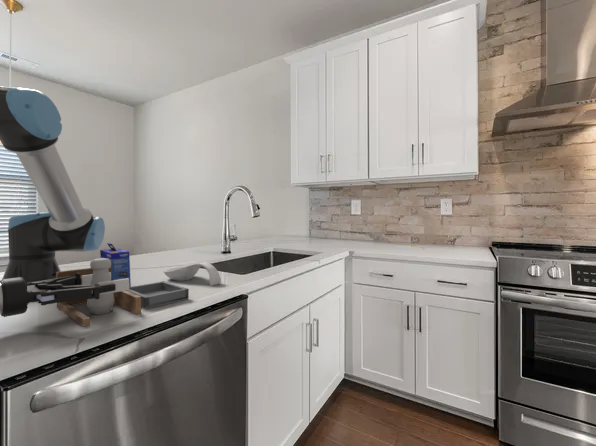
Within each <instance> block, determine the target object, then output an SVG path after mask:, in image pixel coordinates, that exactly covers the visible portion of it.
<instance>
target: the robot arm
mask: <svg viewBox="0 0 596 446" xmlns="http://www.w3.org/2000/svg"><path fill="white" fill-rule="evenodd" d="M61 121H62V117H61V114H60V112H59V109H58V107H57V106H56V104H55V103H54V102H53V100H52V99H51V98H50V97H49V96H48V95H46V94H45V93H43V92H42V91H39V90H36V89H31V88H25V87H21V86H14V87H11V86H1V85H0V143H1V144H2V146H3V148H4V149H5V150H7V151H8V152H12V153H13V154H14V153H15V154H16V156H17V157H18V160H19V161H20V163H21V165H22V166H23V168H24V171H25V172H26V174H27V175H28V177H29V179H30V181H31V182H32V184H33V186H34V188H35V190H36V191H37V193H38V195H39V197H40V198H41V201H42V202H43V204H44V206H45V208H46V209H47V211H48V212H36V213H24V214H15V215H12V216H11V217H10V218H9V220H8V227H7V232H8V234H7V235H8V259H9V260H8V264H7V266H6V268H5V271H4V274H3V276H2V279H0V316H1V317H4V318H7V317H12V316H18V315H22V314H24V313H26V312H27V310H28V305H29V304H30V303H37V304H40V305H41V306H46V305H53V304H57V303H60V302H68V301H77V300H85V299H94V298H95V299H99V295H102V294H108V293H114V292H119V291H125V290H129V278H126V279H119V280H113V281H106V282H99V283H97V284H92V285H91V280H92V275H93V274H91V275H83V276H81V278H80V273H75V275H71V276H65V277H60V278H56V272H60V271H61V268H60V266H59V263H58V262H57V259H56V252H76V253H77V252H78V253H79V252H83V253H85V252H86V253H87V252H94V251H97V250H98V249H99V248H100V247H101V245H103V244H102V243H103V240H104V236H105V231H106V228H105V221H104V218H102V217H100V216H97V215H96V216H94V215H93V214H92V211H91V210H90V209H89V208H88V207H86V206H83V203H82V202H81V200H80V198H79V194H78V193H77V191H76V189H75V187H74V184H73V182H72V180H71V177H70V175H69V174H68V171H67V169H66V167H65V165H64V162H63V161H62V158H61V156H60V153H59V151H58V149H57V147H56V144H57V142H58V141H59V137H60V135H61V133H62V129H63V124H62V123H61ZM109 275H110V280H111V272H109ZM80 284H81V285H80ZM92 290H93V293H92Z"/></svg>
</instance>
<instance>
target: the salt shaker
mask: <svg viewBox="0 0 596 446" xmlns="http://www.w3.org/2000/svg"><path fill="white" fill-rule="evenodd" d="M89 265H90V267H89V268H91V269H93V275H92V280H91V285H92V284H97V283H99V282H106V281H111V280H110V275H109V270H108V268H110V267H111V261H110V260H109V259H107V258H101V257H100V258H99V257H98V258H95V259H92V260H91V261H90V263H89ZM92 293H93V290H92ZM114 302H115V299H114V294H113V293H108V294H102V295H99V299H95V298H94V299H87V303H86V307H87V309H88V310H89V312H90V314H92V315H102V314H108V313H110V312H111V311H112V310H113V307H114V305H115V303H114Z"/></svg>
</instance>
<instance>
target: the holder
mask: <svg viewBox="0 0 596 446" xmlns="http://www.w3.org/2000/svg"><path fill="white" fill-rule="evenodd" d="M108 270H109V272H110V268H108ZM75 273H80V278H81V276H83V275H91V274H93V269H91V267H87V268H79V269H77V268H76V269H70V270H69V269H68V270H60V272H56V278H60V277H65V276H71V275H75ZM80 285H81V284H80ZM113 294H114V299H115V302H114V305H117V306H118V307H120V308H124V309H125V310H127V311H129V312H131V313H132V314H136V315H137V314H140V313H142V307H141V296H139V295H136V294H134V293H131V292H129V291H126V290H125V291H119V292H114V293H113ZM82 304H87V299H85V300H77V301H68V302H60V303H56V308H57V309H59V310H60V311H62V312H63V313H64V314H66V315H67V316H68V317H70V318H71V319H72V320H73V321H75V322H76V323H78V324H79V325H81V326H82V327H86V326H90V325H91V319H90V318H91V317H89V316H87V315H85V314H84V313H83V312H81V311H79V310H78V309H77V308H75V307H73V306H75V305H82Z"/></svg>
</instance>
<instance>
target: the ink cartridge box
mask: <svg viewBox="0 0 596 446" xmlns="http://www.w3.org/2000/svg"><path fill="white" fill-rule="evenodd" d="M107 245H108V247H109V248H105V249H100V250H99V251H100V252H99V254H100V258H107V259H109V260H110V261H111V267H110V272H111V281H113V280H119V279H126V278H129V287H132V286H131V285H132V284H131V281H132V280H131V261H130V260H131V258H130V257H131V256H130V251H128V250H124V249H121V248H116V247H115V246H114V244H113V243H109V242H108V243H107Z"/></svg>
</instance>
